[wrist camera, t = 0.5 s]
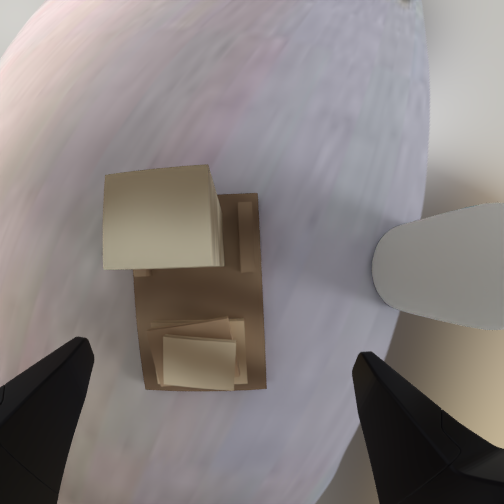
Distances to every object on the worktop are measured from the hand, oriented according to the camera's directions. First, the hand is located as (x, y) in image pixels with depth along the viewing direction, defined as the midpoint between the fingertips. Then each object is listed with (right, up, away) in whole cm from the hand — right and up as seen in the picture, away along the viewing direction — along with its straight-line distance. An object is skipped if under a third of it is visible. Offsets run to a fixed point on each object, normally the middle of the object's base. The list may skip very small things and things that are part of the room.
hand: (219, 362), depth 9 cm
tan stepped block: (-3, 0, +14) cm, 15 cm away
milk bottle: (+15, +2, +16) cm, 22 cm away
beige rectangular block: (-3, +4, +13) cm, 14 cm away
